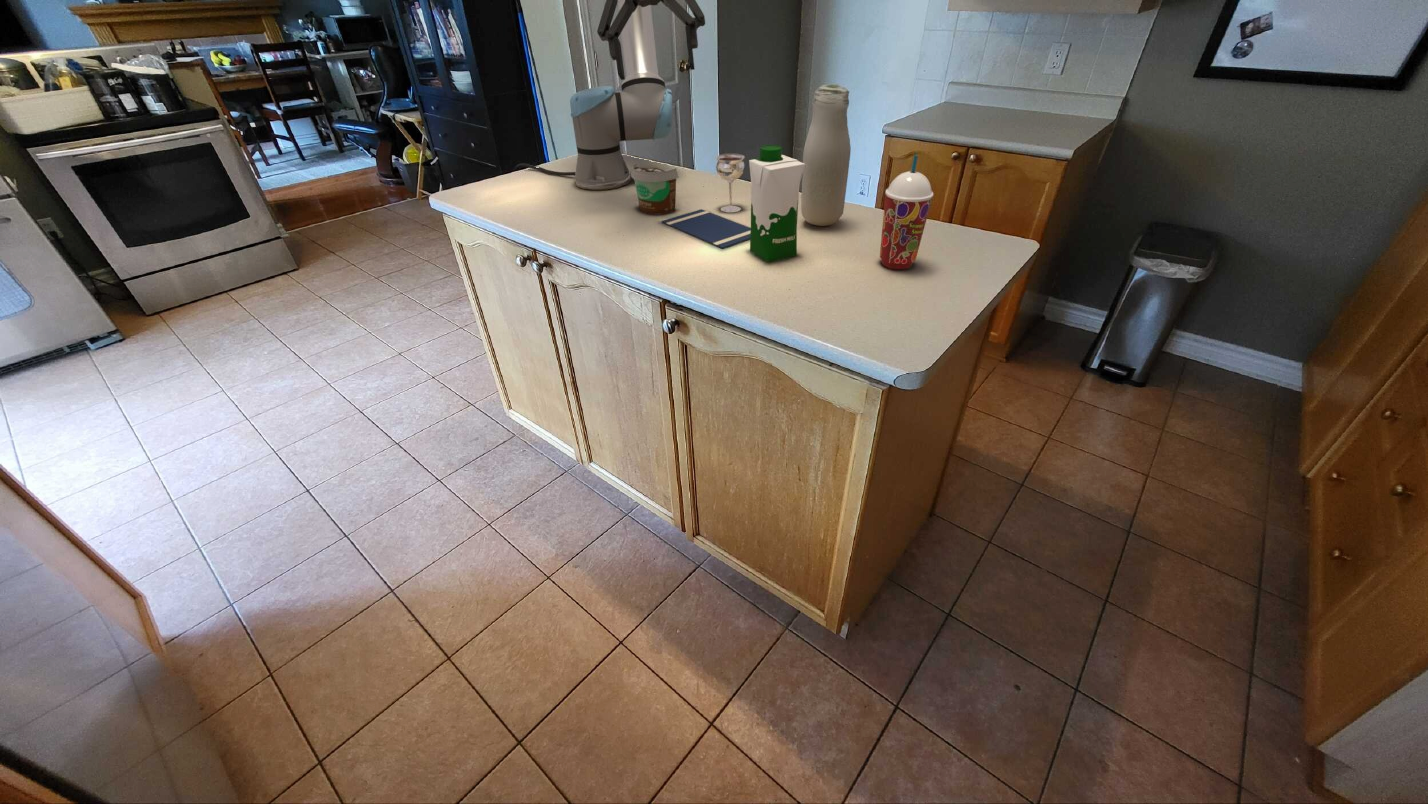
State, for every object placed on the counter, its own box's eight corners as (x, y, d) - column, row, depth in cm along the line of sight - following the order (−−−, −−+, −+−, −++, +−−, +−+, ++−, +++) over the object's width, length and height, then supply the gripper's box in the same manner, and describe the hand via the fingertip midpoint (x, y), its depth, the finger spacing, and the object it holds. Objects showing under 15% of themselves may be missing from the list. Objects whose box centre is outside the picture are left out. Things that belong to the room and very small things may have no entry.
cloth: (661, 222, 133) (661, 220, 133) (701, 210, 139) (701, 209, 139) (722, 249, 119) (722, 247, 119) (763, 234, 125) (764, 232, 125)
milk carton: (779, 242, 121) (783, 142, 109) (803, 256, 115) (811, 151, 103) (743, 250, 118) (744, 148, 106) (766, 266, 112) (770, 158, 100)
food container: (624, 211, 140) (619, 169, 134) (638, 204, 144) (634, 163, 138) (667, 219, 135) (664, 175, 129) (680, 211, 139) (678, 168, 133)
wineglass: (724, 215, 136) (723, 162, 129) (712, 207, 141) (711, 156, 134) (749, 210, 138) (750, 158, 131) (737, 203, 143) (737, 152, 136)
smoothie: (911, 276, 106) (933, 164, 94) (868, 267, 110) (884, 158, 98) (923, 260, 112) (946, 152, 100) (882, 252, 116) (899, 147, 104)
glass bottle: (841, 216, 133) (856, 80, 116) (843, 232, 125) (859, 89, 108) (799, 215, 134) (808, 81, 117) (797, 231, 126) (807, 89, 109)
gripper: (570, -54, 102) (587, 73, 105) (708, -77, 100) (720, 53, 103) (582, -29, 109) (597, 88, 112) (710, -50, 107) (722, 70, 110)
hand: (656, 72), depth 108 cm, fingers open, 13 cm apart
